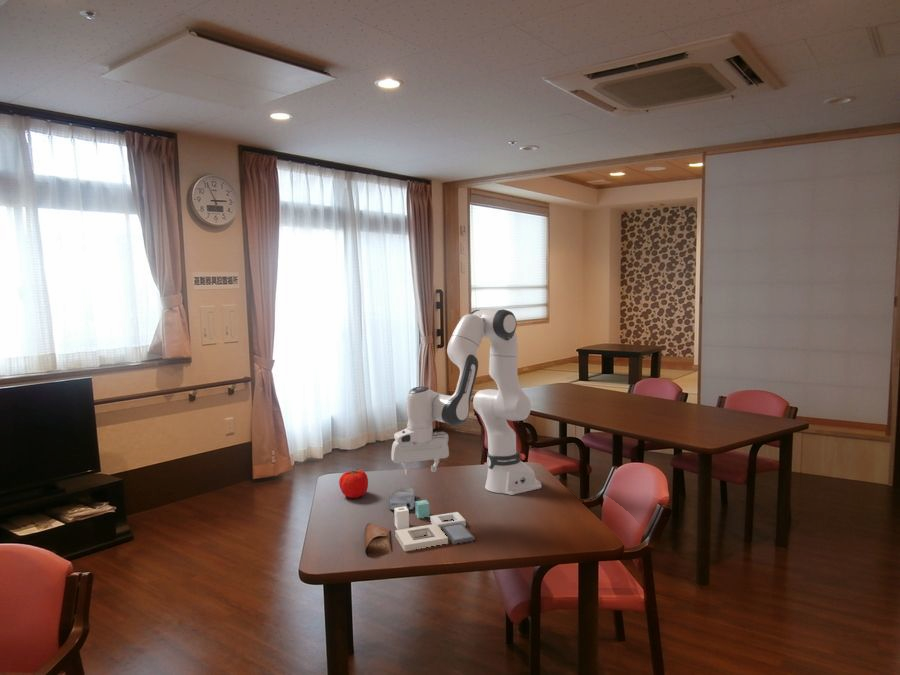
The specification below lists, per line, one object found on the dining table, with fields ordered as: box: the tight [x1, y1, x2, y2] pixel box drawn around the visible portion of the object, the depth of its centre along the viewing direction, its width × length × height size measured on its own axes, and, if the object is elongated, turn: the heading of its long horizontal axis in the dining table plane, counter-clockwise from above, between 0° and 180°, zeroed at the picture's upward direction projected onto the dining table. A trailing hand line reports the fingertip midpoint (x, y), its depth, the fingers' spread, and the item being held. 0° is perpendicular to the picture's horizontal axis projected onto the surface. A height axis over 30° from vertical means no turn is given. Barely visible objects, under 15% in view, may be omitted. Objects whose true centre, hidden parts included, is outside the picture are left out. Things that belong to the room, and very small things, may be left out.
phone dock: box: [429, 511, 476, 545], centre depth 194 cm, size 10×20×2 cm, turn 19°
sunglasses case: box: [364, 522, 393, 557], centre depth 186 cm, size 18×7×7 cm
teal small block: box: [414, 499, 431, 519], centre depth 207 cm, size 4×4×5 cm
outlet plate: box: [394, 523, 449, 552], centre depth 187 cm, size 14×12×2 cm
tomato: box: [338, 467, 369, 499], centre depth 229 cm, size 11×13×10 cm
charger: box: [393, 506, 410, 530], centre depth 198 cm, size 4×4×6 cm
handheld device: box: [388, 486, 416, 511], centre depth 221 cm, size 10×20×5 cm, turn 179°
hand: (420, 472), depth 206 cm, fingers open, 8 cm apart
